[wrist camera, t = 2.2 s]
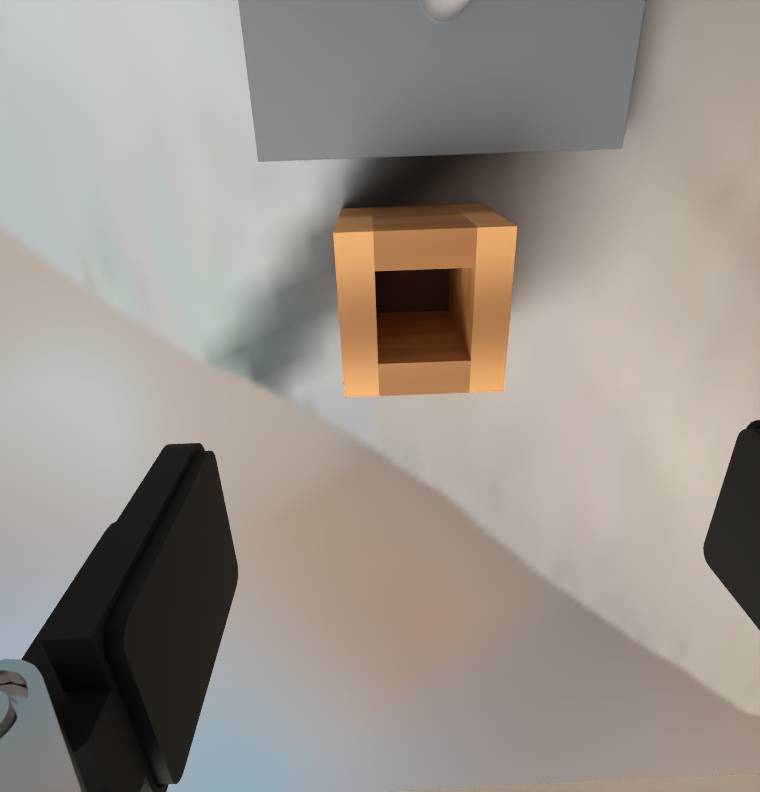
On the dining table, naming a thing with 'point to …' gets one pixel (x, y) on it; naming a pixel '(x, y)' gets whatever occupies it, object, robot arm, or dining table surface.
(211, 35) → the dining table surface
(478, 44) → the rod stand
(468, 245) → the cube
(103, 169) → the dining table surface
